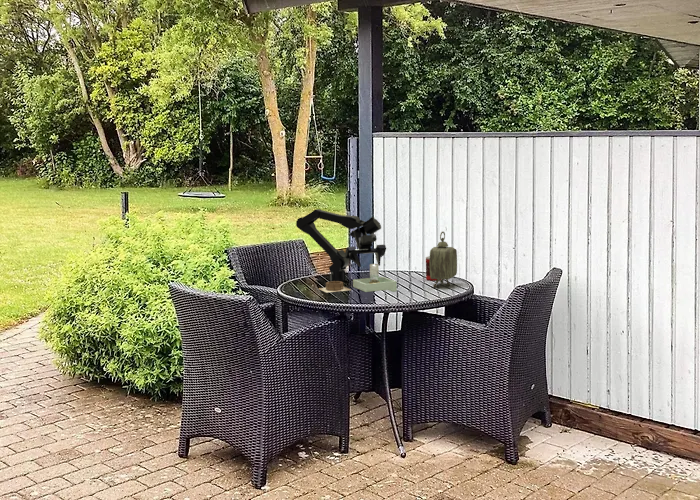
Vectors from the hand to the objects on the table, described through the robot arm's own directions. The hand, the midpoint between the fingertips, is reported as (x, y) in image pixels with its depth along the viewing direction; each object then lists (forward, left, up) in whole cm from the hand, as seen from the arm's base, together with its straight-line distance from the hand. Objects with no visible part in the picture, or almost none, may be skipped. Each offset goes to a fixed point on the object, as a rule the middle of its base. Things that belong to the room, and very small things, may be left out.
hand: (369, 265), depth 354 cm
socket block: (+17, -1, -10) cm, 20 cm away
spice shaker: (0, +5, -10) cm, 11 cm away
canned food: (-36, -7, -11) cm, 38 cm away
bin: (0, +5, -10) cm, 12 cm away
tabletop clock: (-32, +11, -11) cm, 35 cm away
